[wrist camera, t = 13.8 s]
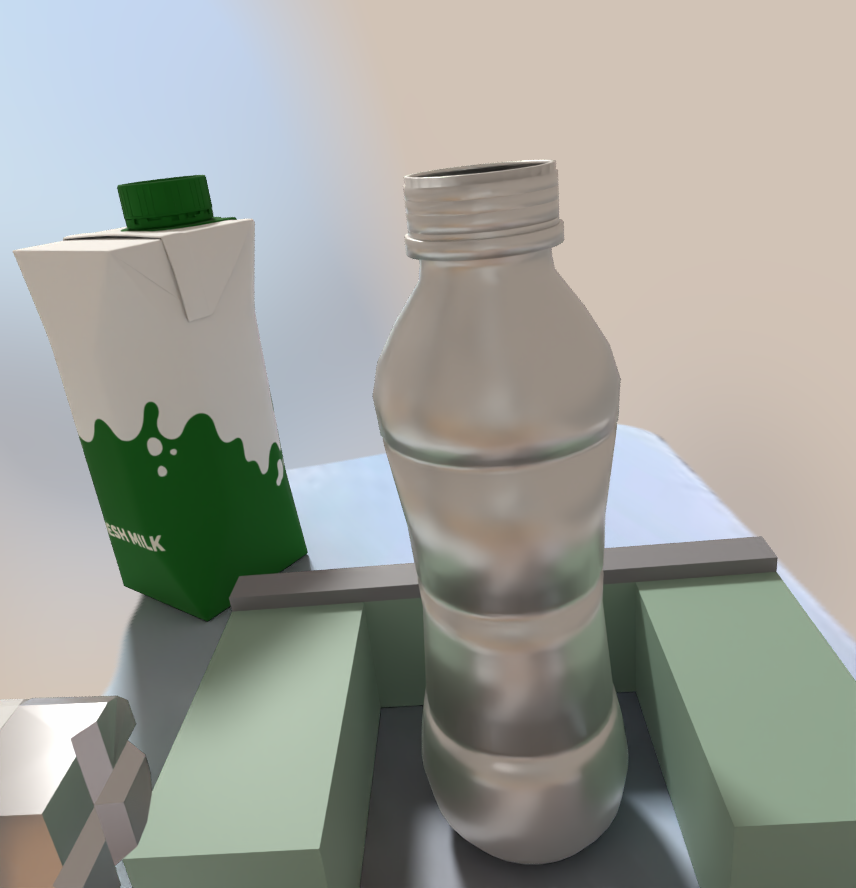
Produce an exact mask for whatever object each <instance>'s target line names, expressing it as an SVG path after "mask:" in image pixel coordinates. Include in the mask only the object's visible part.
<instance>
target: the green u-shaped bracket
mask: <svg viewBox="0 0 856 888" xmlns="http://www.w3.org/2000/svg"><path fill="white" fill-rule="evenodd" d="M602 569H603V572H604V576H603V608H604V616H605V624H606V633H607V641H608V649H609V657H610V665H611V673H612V681H613V684H614V687H615V691H616V693H617V692H633V691H636V694H637V697H638V700H639V703H640V706H641V709H642V712H643V716H644V719H645V722H646V725H647V728H648V731H649V734H650V737H651V740H652V743H653V746H654V749H655V752H656V755H657V758H658V761H659V765H660V768H661V771H662V774H663V777H664V780H665V783H666V786H667V789H668V792H669V795H670V798H671V801H672V804H673V807H674V810H675V813H676V817H677V820H678V823H679V826H680V829H681V832H682V835H683V838H684V841H685V844H686V847H687V850H688V853H689V856H690V859H691V862H692V866H693V869H694V872H695V875H696V878H697V881H698V884H699V887H700V888H856V681H855V679H854V678H853V677H852V675H851V674H850V672H849V671H848V670H847V668H846V667H845V666H844V664H843V663H842V661H841V660H840V659H839V657H838V656H837V655H836V653H835V652H834V650H833V649H832V648H831V646H830V645H829V644H828V642H827V641H826V639H825V638H824V637H823V635H822V634H821V633H820V631H819V630H818V628H817V627H816V626H815V624H814V623H813V622H812V620H811V619H810V617H809V616H808V615H807V613H806V612H805V611H804V609H803V608H802V606H801V605H800V604H799V602H798V601H797V600H796V598H795V597H794V595H793V594H792V593H791V591H790V590H789V589H788V587H787V586H786V584H785V583H784V582H783V580H782V579H781V578H780V576H779V575H778V573H777V572H776V570H777V556H776V555H775V553H774V552H773V551H772V549H771V548H770V547H769V545H768V544H767V543H766V541H765V540H764V539H763V537H761V536H760V537H747V538H734V539H721V540H708V541H695V542H682V543H669V544H656V545H642V546H629V547H616V548H604V563H603V568H602ZM229 600H230V605H231V609H232V613H231V615H230V618H229V620H228V622H227V624H226V627H225V629H224V631H223V633H222V636H221V638H220V640H219V642H218V645H217V647H216V649H215V651H214V654H213V656H212V658H211V660H210V663H209V665H208V667H207V669H206V672H205V674H204V676H203V678H202V681H201V683H200V685H199V687H198V690H197V692H196V694H195V696H194V699H193V701H192V703H191V705H190V708H189V710H188V712H187V714H186V717H185V719H184V721H183V723H182V726H181V728H180V730H179V732H178V735H177V737H176V739H175V741H174V744H173V746H172V748H171V750H170V753H169V755H168V757H167V759H166V762H165V764H164V766H163V768H162V771H161V773H160V775H159V777H158V780H157V782H156V784H155V786H154V789H153V791H152V796H151V802H150V808H149V814H148V820H147V824H146V826H145V829H144V831H143V834H142V836H141V839H140V841H139V844H138V846H137V847H136V848H135V849H134V850H133V851H131V852H130V853H129V854H128V855H127V856H126V857H125V858H123V859H122V860H123V863H124V866H125V868H126V871H127V874H128V877H129V879H130V882H131V885H132V888H360V880H361V871H362V863H363V854H364V846H365V837H366V829H367V820H368V812H369V803H370V795H371V786H372V778H373V769H374V761H375V752H376V744H377V735H378V727H379V718H380V710H381V708H384V707H399V706H415V705H424V697H425V688H426V674H425V648H424V622H423V605H422V599H421V594H420V589H419V584H418V575H417V572H416V567H415V563H406V564H393V565H380V566H367V567H354V568H341V569H328V570H315V571H302V572H288V573H275V574H262V575H249V576H239V578H238V580H237V582H236V584H235V586H234V588H233V591H232V593H231V595H230V597H229Z"/></svg>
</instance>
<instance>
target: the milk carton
mask: <svg viewBox="0 0 856 888" xmlns="http://www.w3.org/2000/svg"><path fill="white" fill-rule="evenodd" d="M117 189H118V193H119V197H120V202H121V206H122V210H123V214H124V219H125V221H126V225H127V227H123V228H117V229H112V230H106V231H101V232H95V233H84V234H77V235H71V236H67V237H64V238H63V241H60V242H55V243H50V244H44V245H39V246H34V247H29V248H23V249H18V250H14V251H13V253H14V255H15V258H16V260H17V262H18V265H19V267H20V270H21V272H22V274H23V277H24V279H25V281H26V284H27V286H28V289H29V291H30V294H31V296H32V299H33V301H34V304H35V306H36V308H37V311H38V313H39V316H40V318H41V321H42V323H43V326H44V328H45V330H46V333H47V336H48V338H49V341H50V344H51V347H52V350H53V353H54V356H55V360H56V363H57V366H58V369H59V373H60V376H61V379H62V382H63V386H64V389H65V392H66V396H67V399H68V402H69V405H70V408H71V412H72V415H73V418H74V422H75V425H76V428H77V432H78V435H79V438H80V441H81V445H82V448H83V451H84V455H85V458H86V461H87V464H88V468H89V471H90V474H91V477H92V481H93V484H94V487H95V490H96V494H97V496H98V500H99V504H100V507H101V510H102V514H103V517H104V520H105V523H106V527H107V530H108V534H109V537H110V540H111V544H112V547H113V550H114V554H115V557H116V560H117V564H118V566H119V570H120V574H121V577H122V580H123V584H124V586H126V587H128V588H130V589H133V590H135V591H137V592H140V593H142V594H144V595H147V596H149V597H151V598H154V599H156V600H158V601H161V602H163V603H165V604H168V605H170V606H172V607H175V608H177V609H179V610H182V611H184V612H186V613H189V614H191V615H193V616H196V617H198V618H200V619H203V620H205V621H209V620H211V619H212V618H213V617H215V616H216V615H218V614H219V613H221V612H222V611H224V610H225V609H227V608H228V607H230V606H231V605H230V600H229V597H230V595H231V593H232V591H233V588H234V586H235V584H236V582H237V580H238V578H239V576H249V575H262V574H275V573H279V572H281V571H282V570H284V569H285V568H287V567H288V566H289V565H291V564H292V563H294V562H295V561H297V560H298V559H300V558H301V557H303V556H304V555H306V554H307V553H308V552H307V548H306V544H305V541H304V537H303V533H302V530H301V526H300V522H299V518H298V515H297V511H296V507H295V504H294V500H293V496H292V492H291V489H290V485H289V481H288V478H287V474H286V470H285V465H284V460H283V455H282V450H281V445H280V440H279V434H278V429H277V424H276V419H275V414H274V409H273V404H272V399H271V394H270V388H269V383H268V378H267V373H266V368H265V362H264V357H263V352H262V347H261V342H260V336H259V331H258V325H257V320H256V315H255V304H254V248H255V246H254V245H255V238H254V237H255V222H254V221H253V219H241V220H237V219H236V218H235V217H229V218H221V217H213V211H212V204H211V199H210V194H209V189H208V185H207V180H206V177H205V175H193V176H183V177H174V178H165V179H157V180H150V181H142V182H134V183H128V184H122V185H118V187H117Z"/></svg>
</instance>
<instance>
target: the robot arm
mask: <svg viewBox="0 0 856 888" xmlns="http://www.w3.org/2000/svg"><path fill="white" fill-rule="evenodd" d="M135 725H136V722H135V719H134V716H133V713H132V711H131V708H130V705H129V702H128V700H126V699H123V698H121V697H119V696H94V697H93V696H92V697H55V698H54V697H53V698H31V699H9V700H0V888H120V886H121V883H120V880H119V877H118V874H117V871H116V868H115V865H117V864H118V863H119V862H120V861H121V860H122V859H123V858H125V857H126V856H127V855H128V854H129V853H130V852H131V851H133V850H134V849H135V848H136V847H137V846H138V844H139V841H140V839H141V836H142V834H143V831H144V829H145V826H146V824H147V820H148V814H149V808H150V802H151V796H152V787H151V772H150V769H149V765H148V762H147V758H146V755H145V754H144V753H143V752H141V751H140V750H139V749H138V748H137V747H135V746H134V745H133V744H132V743H131V742H129V741H128V739H129V737H130V735H131V733H132V731H133V729H134V727H135Z"/></svg>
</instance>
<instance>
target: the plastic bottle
mask: <svg viewBox="0 0 856 888" xmlns="http://www.w3.org/2000/svg"><path fill="white" fill-rule="evenodd" d="M404 182H405V185H404V186H403V190H404V198H405V208H406V218H407V226H408V234H406V235H405V237H404V238H405V247H406V255H407V256H408V257H410V258H413V259H418V260H419V262H420V268H419V281H418V283H417V285H416V286H415V288H414V290H413V292H412V293H411V295H410V297H409V298H408V301H407V302H406V304H405V305H404V308H403V309H402V311H401V312H400V314H399V316H398V318H397V319H396V321H395V323H394V326H393V328H392V330H391V333H390V335H389V337H388V339H387V341H386V344H385V346H384V348H383V350H382V353H381V355H380V357H379V360H378V362H377V368H376V376H375V383H374V389H373V401H374V405H375V410H376V414H377V419H378V424H379V428H380V433H381V436H382V437H383V442H384V446H385V450H386V454H387V457H388V461H389V464H390V467H391V471H392V474H393V478H394V481H395V484H396V488H397V491H398V495H399V498H400V501H401V505H402V508H403V512H404V515H405V519H406V522H407V525H408V531H409V536H410V541H411V547H412V552H413V557H414V563H415V567H416V572H417V575H418V584H419V589H420V594H421V599H422V605H423V622H424V648H425V674H426V688H425V697H424V705H423V715H422V758H423V765H424V769H425V772H426V775H427V778H428V780H429V783H430V786H431V789H432V791H433V794H434V797H435V799H436V802H437V804H438V806H439V809H440V811H441V813H442V815H443V816H444V817H445V819H446V820H447V822H448V823H449V824H450V826H451V827H452V828H453V829H454V830H455V831H456V832H458V833H459V834H460V835H461V836H462V837H463V838H464V839H465V840H467V841H468V842H470V843H472V844H473V845H475V846H476V847H478V848H480V849H481V850H483V851H484V852H486V853H488V854H489V855H492V856H494V857H497V858H500V859H502V860H505V861H509V862H514V863H519V864H545V863H551V862H557V861H560V860H562V859H565V858H568V857H570V856H573V855H574V854H576V853H578V852H579V851H581V850H582V849H584V848H585V847H587V846H588V845H590V844H591V843H593V842H594V841H596V840H597V839H598V838H599V837H600V836H601V835H602V834H603V833H604V832H605V831H606V830H607V829H608V828H609V826H610V824H611V823H612V821H613V819H614V818H615V816H616V814H617V812H618V809H619V805H620V802H621V798H622V794H623V789H624V784H625V780H626V775H627V770H628V754H629V751H628V745H627V740H626V734H625V728H624V723H623V717H622V713H621V709H620V705H619V701H618V698H617V694H616V691H615V687H614V684H613V681H612V673H611V665H610V657H609V649H608V641H607V633H606V624H605V616H604V608H603V576H604V572H603V569H602V568H603V563H604V543H605V512H606V505H607V497H608V490H609V482H610V475H611V467H612V460H613V453H614V445H615V438H616V429H617V421H618V416H619V396H620V380H621V378H620V375H619V372H618V369H617V366H616V363H615V360H614V357H613V353H612V350H611V347H610V345H609V343H608V341H607V339H606V338H605V336H604V335H603V333H602V331H601V330H600V328H599V327H598V325H597V324H596V322H595V321H594V319H593V318H592V316H591V315H590V313H589V311H588V310H587V308H586V307H585V305H584V304H583V303H582V302H581V300H580V299H579V298H578V297H577V295H576V294H575V293H574V292H573V291H572V289H571V288H570V287H569V286H568V284H567V283H566V282H565V280H564V279H563V278H562V277H561V276H560V274H559V273H558V272H557V271H556V269H555V267H554V262H553V257H552V251H551V250H552V249H551V248H552V247H555V246H557V245H559V244H561V243H562V242H563V241H564V222H563V220H561V219H559V193H558V170H557V169H556V161H555V160H528V161H527V160H526V161H512V162H501V163H490V164H479V165H470V166H461V167H454V168H446V169H439V170H432V171H426V172H420V173H415V174H411V175H407V176H404Z"/></svg>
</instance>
